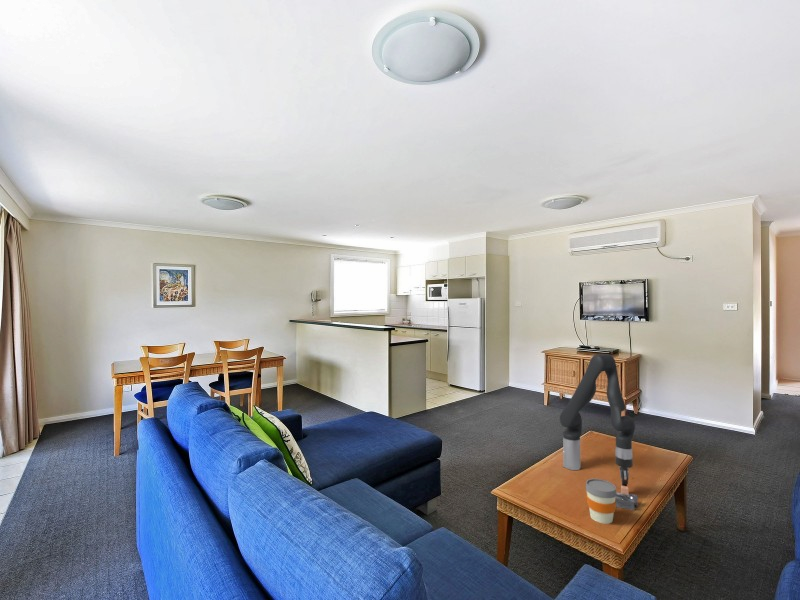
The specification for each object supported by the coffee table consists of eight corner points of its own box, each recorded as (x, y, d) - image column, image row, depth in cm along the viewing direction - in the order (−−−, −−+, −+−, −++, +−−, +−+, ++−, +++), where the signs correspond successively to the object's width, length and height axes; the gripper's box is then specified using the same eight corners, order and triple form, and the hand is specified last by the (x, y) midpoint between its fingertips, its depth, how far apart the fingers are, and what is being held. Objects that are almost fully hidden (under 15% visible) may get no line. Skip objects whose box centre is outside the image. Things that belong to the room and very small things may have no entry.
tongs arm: (597, 498, 188) (597, 489, 188) (598, 495, 191) (598, 486, 191) (637, 508, 179) (637, 498, 179) (637, 504, 182) (637, 494, 182)
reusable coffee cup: (609, 529, 163) (608, 494, 163) (580, 516, 173) (580, 483, 173) (622, 519, 170) (621, 486, 170) (594, 507, 181) (593, 475, 181)
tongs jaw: (598, 503, 184) (598, 495, 184) (598, 500, 187) (598, 492, 187) (634, 510, 177) (634, 501, 177) (633, 507, 180) (633, 499, 180)
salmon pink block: (621, 498, 188) (621, 488, 188) (621, 495, 191) (620, 485, 191) (628, 499, 187) (628, 489, 187) (628, 496, 190) (627, 486, 190)
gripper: (614, 449, 200) (615, 482, 200) (616, 459, 188) (617, 494, 188) (631, 452, 197) (631, 485, 197) (634, 462, 185) (634, 497, 185)
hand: (624, 489), depth 192 cm, fingers closed
